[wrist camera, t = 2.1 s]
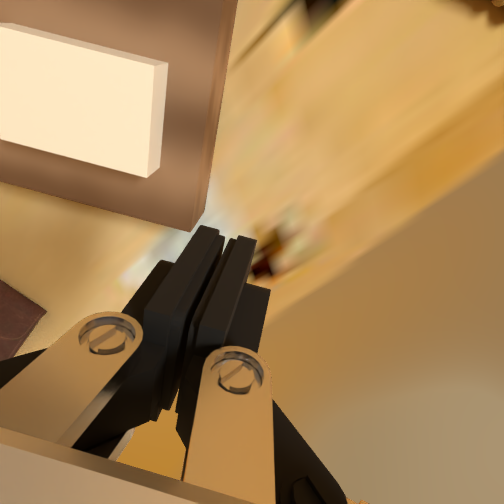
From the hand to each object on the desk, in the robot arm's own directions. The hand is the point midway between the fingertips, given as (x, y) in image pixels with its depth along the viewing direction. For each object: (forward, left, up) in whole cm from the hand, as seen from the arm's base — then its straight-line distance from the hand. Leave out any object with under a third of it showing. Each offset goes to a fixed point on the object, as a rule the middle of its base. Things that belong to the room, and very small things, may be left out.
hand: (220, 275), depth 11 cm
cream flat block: (0, -11, -13) cm, 17 cm away
